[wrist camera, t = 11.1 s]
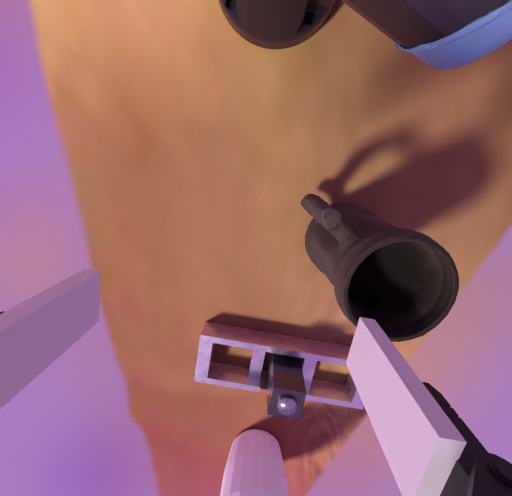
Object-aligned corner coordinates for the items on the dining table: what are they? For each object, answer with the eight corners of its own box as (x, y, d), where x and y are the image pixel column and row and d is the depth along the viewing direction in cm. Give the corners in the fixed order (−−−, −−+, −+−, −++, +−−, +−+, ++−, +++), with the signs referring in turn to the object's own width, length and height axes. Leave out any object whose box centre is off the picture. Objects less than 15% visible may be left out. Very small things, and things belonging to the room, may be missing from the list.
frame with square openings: (205, 321, 46) (200, 336, 42) (368, 349, 47) (378, 366, 43) (199, 364, 49) (193, 382, 44) (354, 390, 49) (363, 411, 45)
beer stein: (396, 234, 42) (497, 277, 22) (348, 288, 44) (402, 369, 25) (314, 171, 41) (345, 159, 21) (270, 230, 43) (261, 267, 24)
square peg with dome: (271, 343, 47) (273, 390, 37) (298, 348, 47) (307, 396, 37) (266, 365, 48) (267, 417, 38) (292, 370, 48) (300, 423, 38)
